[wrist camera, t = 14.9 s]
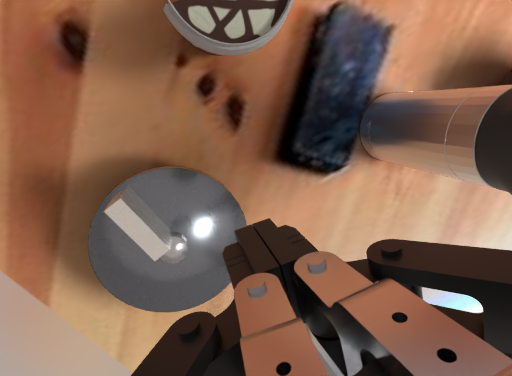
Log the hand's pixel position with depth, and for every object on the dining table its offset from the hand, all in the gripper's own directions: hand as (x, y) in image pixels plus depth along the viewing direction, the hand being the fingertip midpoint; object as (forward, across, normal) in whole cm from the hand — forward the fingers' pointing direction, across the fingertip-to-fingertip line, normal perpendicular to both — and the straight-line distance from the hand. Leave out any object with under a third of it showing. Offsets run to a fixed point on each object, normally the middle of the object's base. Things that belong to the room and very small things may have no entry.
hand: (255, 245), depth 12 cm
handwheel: (+24, +6, +8) cm, 26 cm away
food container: (+27, -7, -12) cm, 31 cm away
